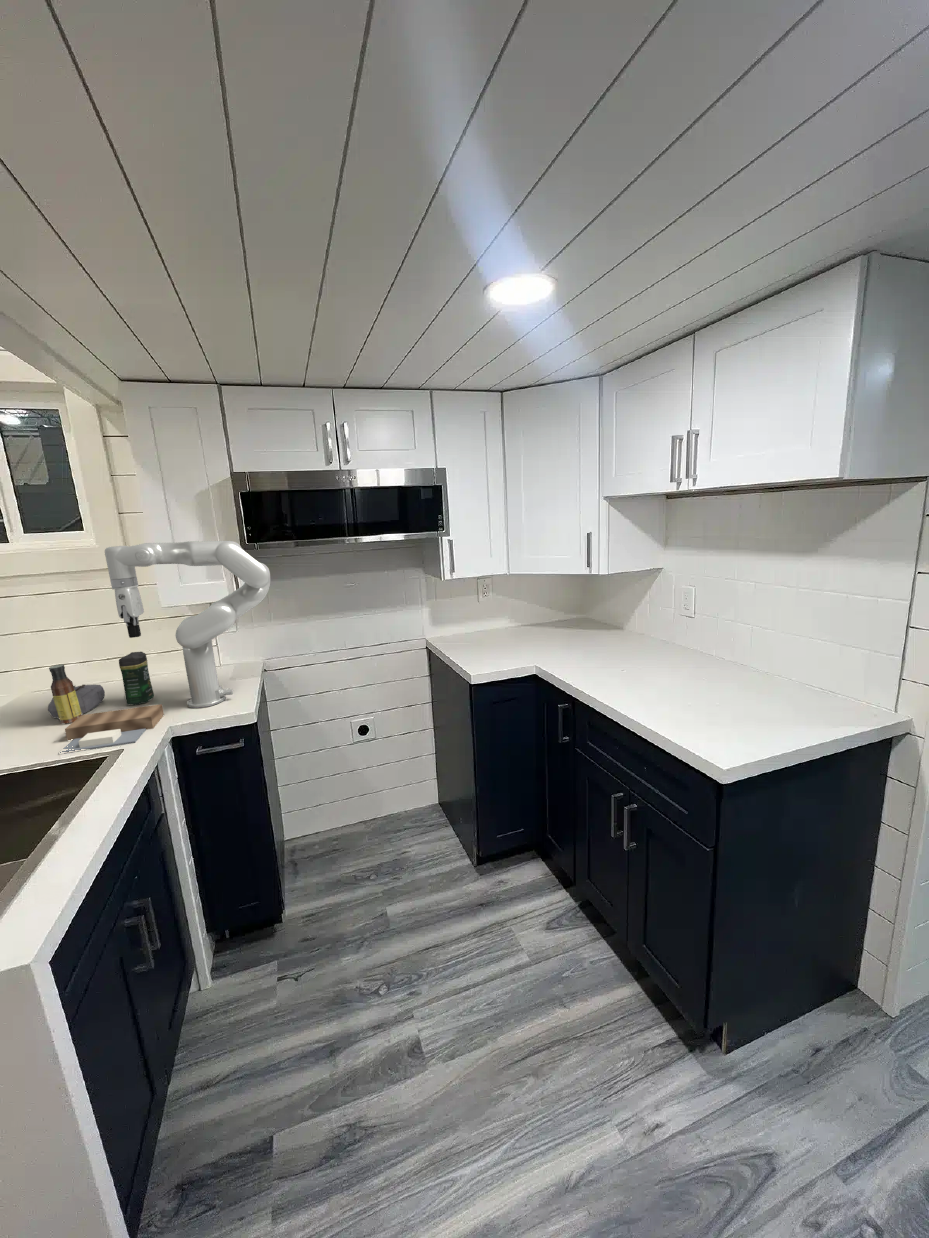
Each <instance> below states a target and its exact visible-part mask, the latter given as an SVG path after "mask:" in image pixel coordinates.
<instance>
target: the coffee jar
mask: <svg viewBox="0 0 929 1238" xmlns="http://www.w3.org/2000/svg"><path fill="white" fill-rule="evenodd" d="M118 666H119V669H120V673H121V678H122V683H123V689H124V695H125V696H124V697H125V702H126V704H127V705H129V706H139V705H140V704H141V705H142V704H146V703H148V702H150V701H151V700H153V699H154V697H155V694H154V689H153V686H152V681H151V677H150V672H149V666H148V657H147V654H146V653H145V652H144V651H132V652H130V653H128V654H127V655H124V656H122V657H121V658H119V659H118Z"/></svg>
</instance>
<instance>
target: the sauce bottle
mask: <svg viewBox="0 0 929 1238" xmlns="http://www.w3.org/2000/svg"><path fill="white" fill-rule="evenodd" d="M65 668H66V667H65V664H55V665H51V666H49V669H48V670H49V672H50V674H51V678H52V682H51V685H50V690H51V694H52V698H53V699H54V702H55V706H56V709H57V712H58V716H59V718H58V719H59V720H60V723H61V724H64V725H67V724H72V723H73V722H74V721H75V720H76V719H78V718H79V717H80V716H81V715H82V714H81V709H80V706H79V702H78V698H77V695H76V692H75V689H74V686H75V685H74V682H73V681H72V680H71V679H70V678H69V677H68V676H67V674H66V670H65Z"/></svg>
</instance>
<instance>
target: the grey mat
mask: <svg viewBox="0 0 929 1238" xmlns="http://www.w3.org/2000/svg"><path fill="white" fill-rule="evenodd" d="M146 731H147V729H146V728H145V729H138V730H131V731H125V732H121V734H122V735H121V736H120V737H119V738H118V739H117V740H116V741H115V742H114V743H109V744H102V745H95V746H88V747H81V748H80V746H79V742H78V741H79V740H81V739H82V738H77V739H73V740H72V741H70V742H68V744H66V746H64V747H63V748H62V749H68V750H66V751H62V752H69V751H75V750H81V749H90V750H96V748H97V749H103V748H110V747H117V746H122V745H128V744H135V743H137V741H138V740H139V739H140V738H141V737H142V736H143V734H144V733H145V732H146ZM67 746H68V747H67ZM72 746H73V747H72ZM69 749H71V750H69ZM72 749H74V750H72ZM59 752H60V751H59ZM60 753H61V752H60Z"/></svg>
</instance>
